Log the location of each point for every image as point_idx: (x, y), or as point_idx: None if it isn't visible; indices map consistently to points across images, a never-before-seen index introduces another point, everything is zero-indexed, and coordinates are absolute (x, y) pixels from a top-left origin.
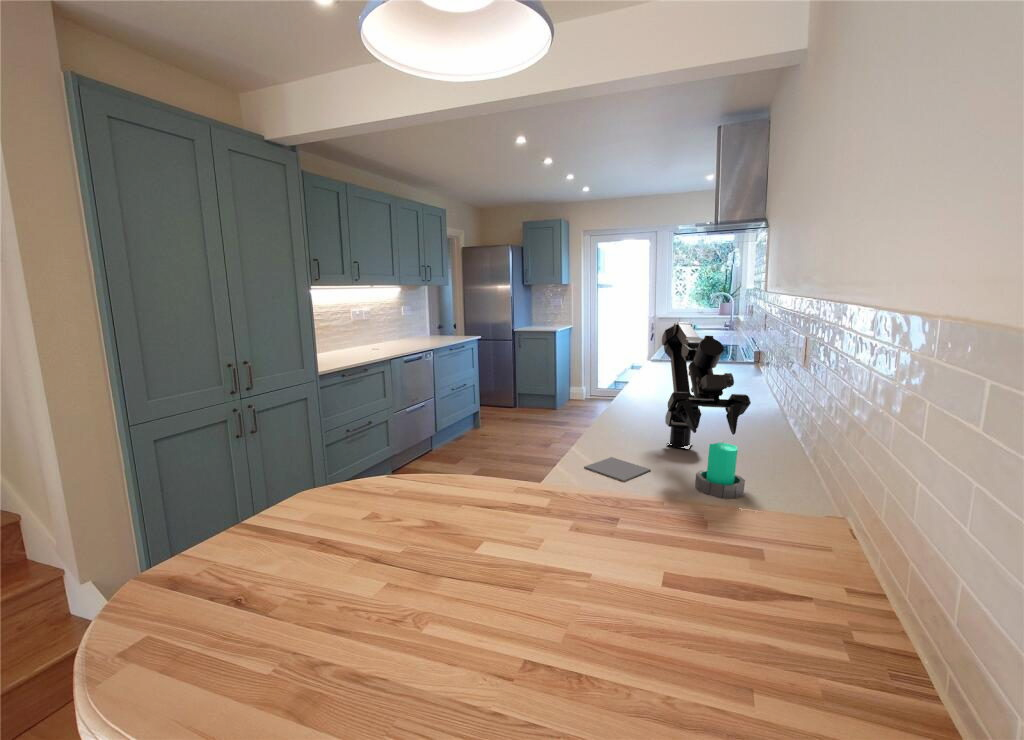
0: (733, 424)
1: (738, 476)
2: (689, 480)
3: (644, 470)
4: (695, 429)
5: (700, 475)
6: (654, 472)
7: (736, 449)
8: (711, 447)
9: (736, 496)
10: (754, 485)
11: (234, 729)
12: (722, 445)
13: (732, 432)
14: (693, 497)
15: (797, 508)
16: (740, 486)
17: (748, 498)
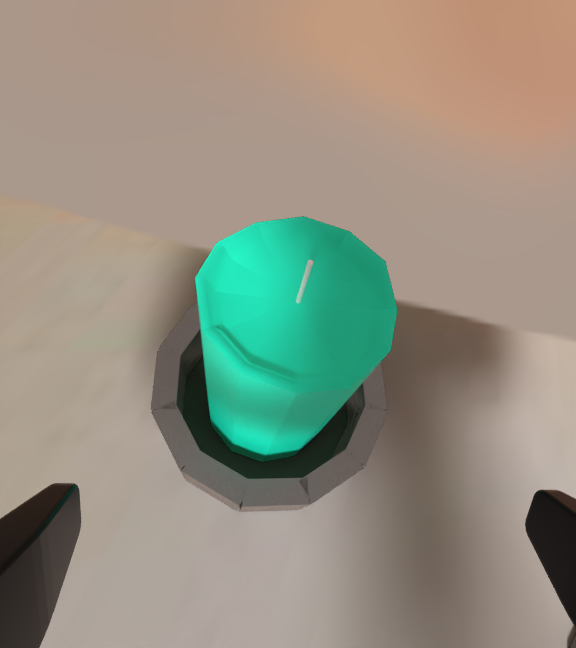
0: (4, 561)
1: (162, 401)
2: (374, 512)
3: None
4: (560, 496)
5: (368, 397)
6: (546, 624)
7: (224, 242)
8: (390, 290)
9: None
10: (40, 478)
11: None
12: (275, 368)
13: (73, 530)
14: (397, 319)
15: (31, 245)
16: None
17: (177, 320)
